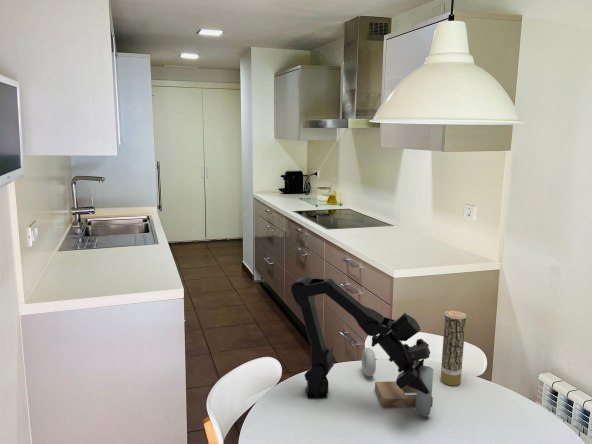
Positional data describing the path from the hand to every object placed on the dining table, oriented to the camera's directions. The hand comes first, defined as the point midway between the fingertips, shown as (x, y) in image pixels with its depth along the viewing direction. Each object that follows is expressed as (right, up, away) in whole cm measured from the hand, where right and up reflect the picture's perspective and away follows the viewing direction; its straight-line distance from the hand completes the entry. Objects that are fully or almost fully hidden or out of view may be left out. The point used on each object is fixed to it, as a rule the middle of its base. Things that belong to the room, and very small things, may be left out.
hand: (429, 389), depth 149 cm
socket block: (-5, -7, +13) cm, 16 cm away
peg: (-1, -7, +2) cm, 8 cm away
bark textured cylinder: (+14, -6, +24) cm, 28 cm away
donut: (-14, -4, +28) cm, 32 cm away
